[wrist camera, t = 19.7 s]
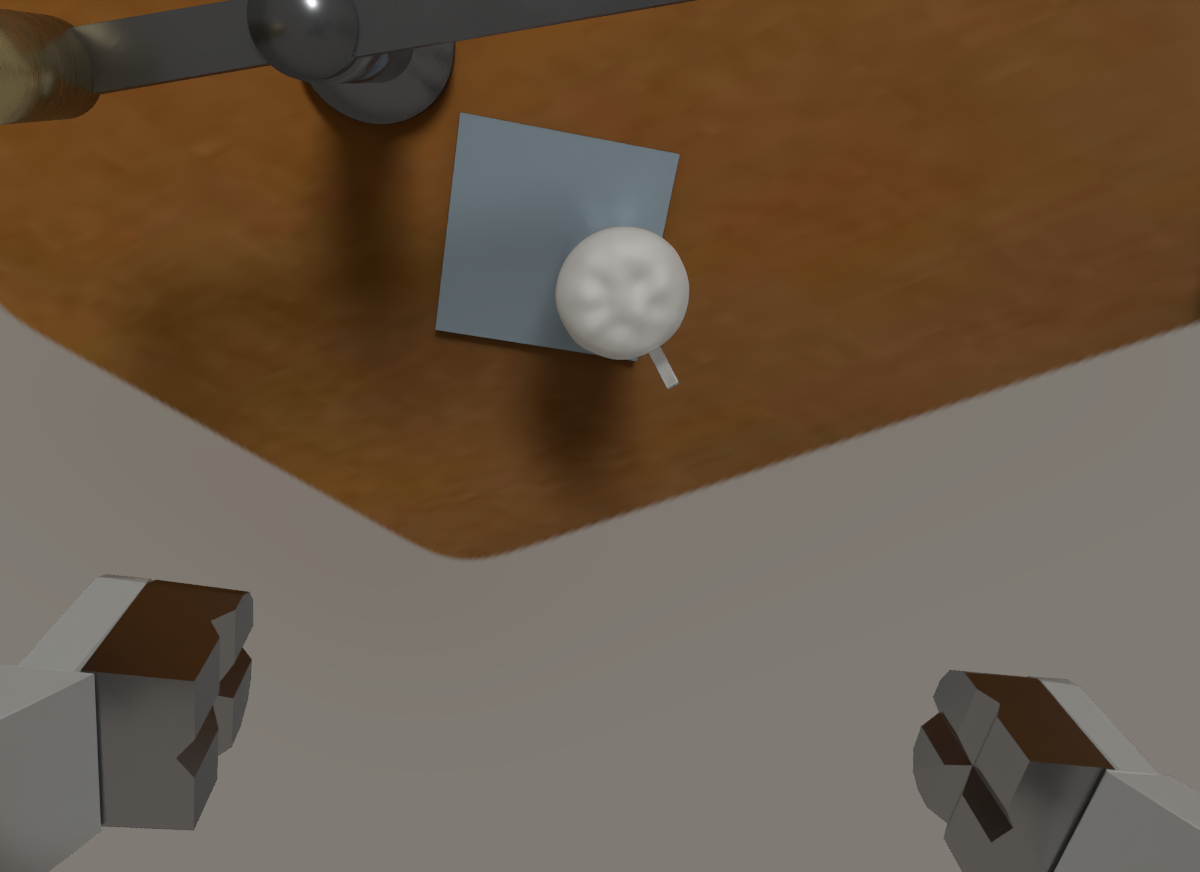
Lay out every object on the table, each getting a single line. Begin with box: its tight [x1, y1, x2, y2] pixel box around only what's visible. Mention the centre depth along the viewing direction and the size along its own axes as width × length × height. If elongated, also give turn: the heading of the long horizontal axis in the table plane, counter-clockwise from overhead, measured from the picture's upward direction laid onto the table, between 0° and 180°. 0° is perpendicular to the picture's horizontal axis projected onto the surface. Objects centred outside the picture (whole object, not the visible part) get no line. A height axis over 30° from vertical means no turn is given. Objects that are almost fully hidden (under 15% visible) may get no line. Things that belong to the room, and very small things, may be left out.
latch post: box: [299, 42, 455, 124], centre depth 28 cm, size 6×6×10 cm
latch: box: [0, 0, 695, 125], centre depth 21 cm, size 3×19×6 cm, turn 99°
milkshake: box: [555, 212, 689, 389], centre depth 32 cm, size 4×5×10 cm
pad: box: [435, 112, 679, 361], centre depth 36 cm, size 9×9×1 cm
